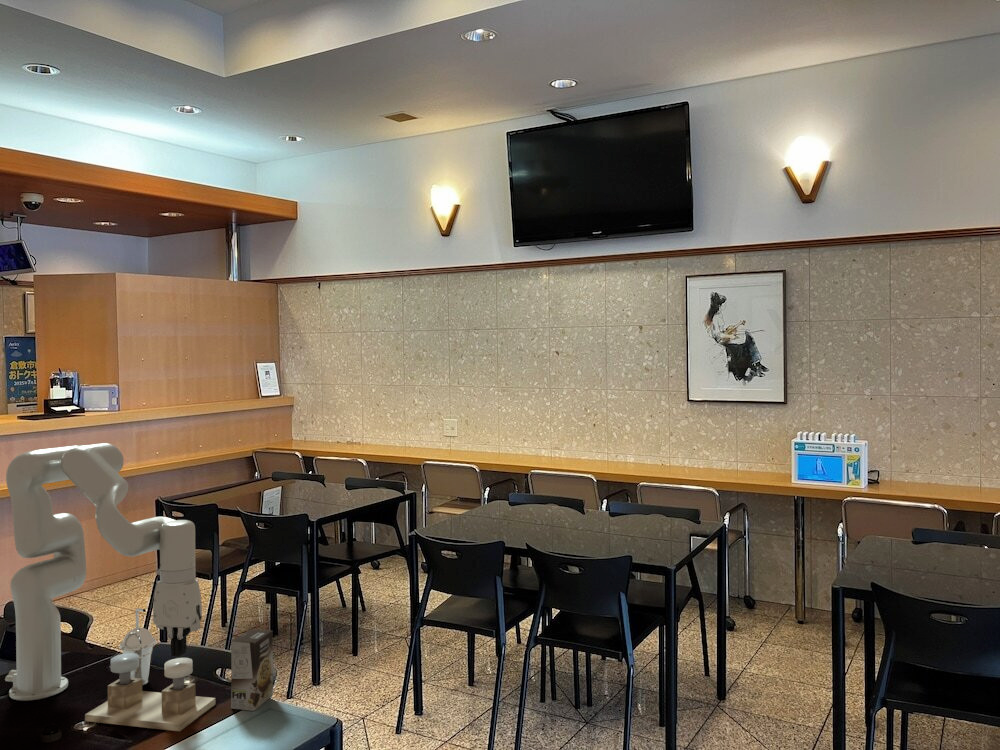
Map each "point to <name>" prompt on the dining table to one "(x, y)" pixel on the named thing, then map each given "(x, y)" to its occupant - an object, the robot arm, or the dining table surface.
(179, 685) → the knob
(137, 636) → the cup with straw
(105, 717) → the wooden mounting board
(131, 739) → the dining table surface
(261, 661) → the coffee box
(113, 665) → the knob
